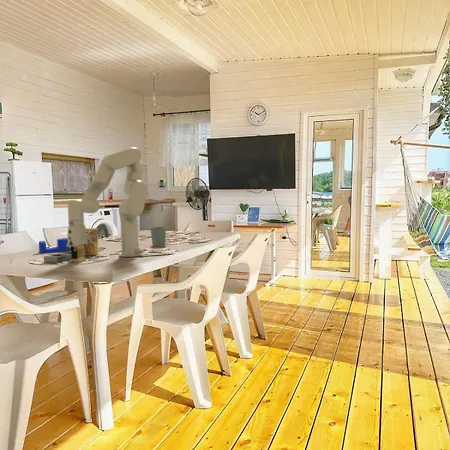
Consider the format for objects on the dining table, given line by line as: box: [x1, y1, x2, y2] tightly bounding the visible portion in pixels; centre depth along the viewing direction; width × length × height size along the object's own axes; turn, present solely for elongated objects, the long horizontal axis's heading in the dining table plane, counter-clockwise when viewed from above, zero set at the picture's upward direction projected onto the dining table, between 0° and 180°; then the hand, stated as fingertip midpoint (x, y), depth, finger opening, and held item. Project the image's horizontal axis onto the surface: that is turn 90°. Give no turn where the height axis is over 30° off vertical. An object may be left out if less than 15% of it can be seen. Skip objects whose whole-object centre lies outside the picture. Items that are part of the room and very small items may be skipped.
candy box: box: [84, 227, 99, 256], centre depth 235 cm, size 9×4×15 cm, turn 104°
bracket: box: [38, 237, 70, 255], centre depth 251 cm, size 20×9×8 cm, turn 134°
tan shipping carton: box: [71, 245, 85, 263], centre depth 213 cm, size 5×4×8 cm
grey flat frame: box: [43, 251, 72, 264], centre depth 219 cm, size 20×9×3 cm, turn 158°
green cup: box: [150, 226, 167, 247], centre depth 270 cm, size 10×10×12 cm
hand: (77, 257), depth 213 cm, fingers closed on tan shipping carton, 4 cm apart
